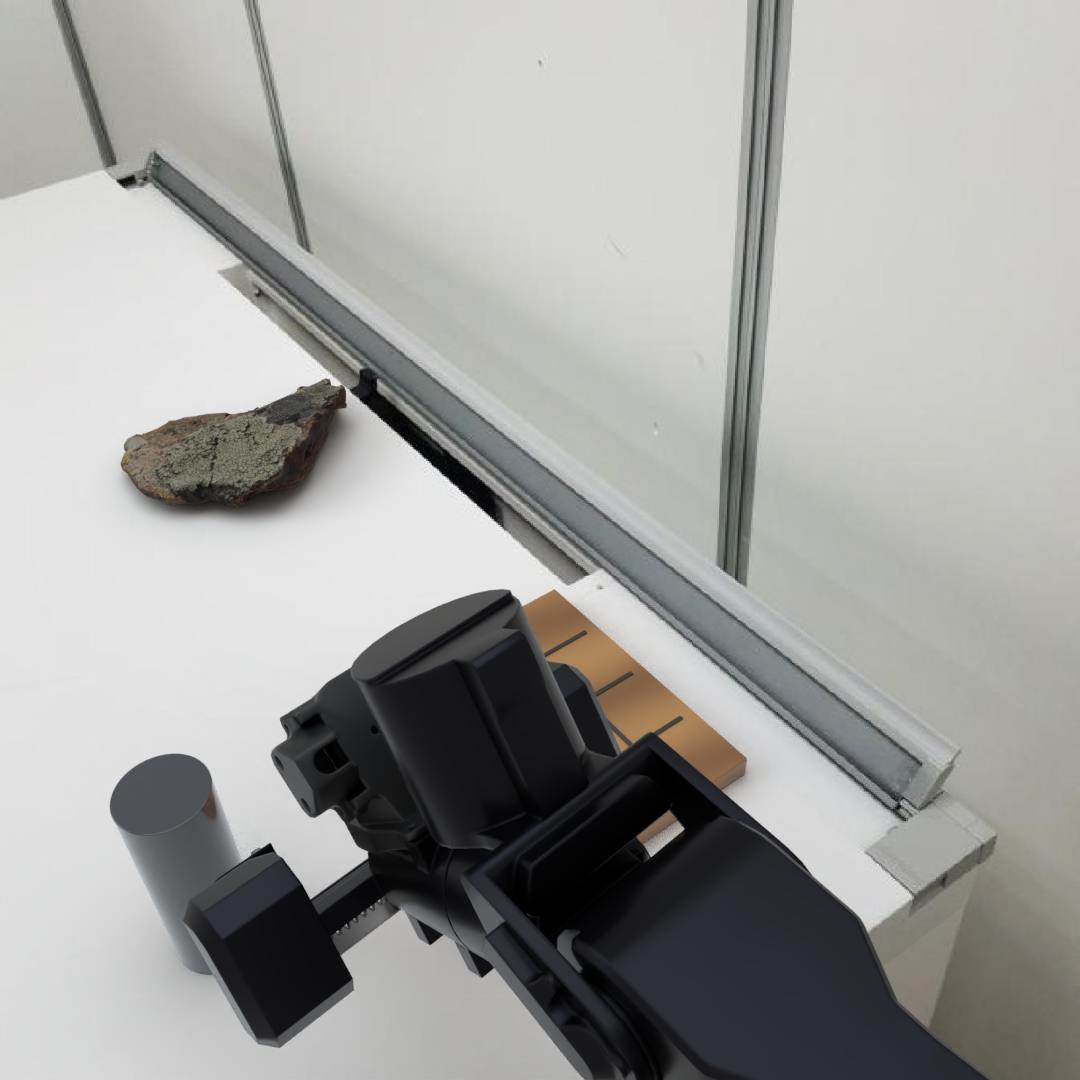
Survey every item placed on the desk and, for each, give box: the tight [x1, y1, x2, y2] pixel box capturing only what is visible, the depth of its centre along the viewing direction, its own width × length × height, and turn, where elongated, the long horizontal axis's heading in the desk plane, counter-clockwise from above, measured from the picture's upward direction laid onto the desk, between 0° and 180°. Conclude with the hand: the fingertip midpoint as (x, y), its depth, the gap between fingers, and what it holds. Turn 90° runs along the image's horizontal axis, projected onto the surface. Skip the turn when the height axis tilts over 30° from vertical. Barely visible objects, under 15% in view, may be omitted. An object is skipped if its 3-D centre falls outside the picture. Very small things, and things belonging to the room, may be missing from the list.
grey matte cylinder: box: [109, 753, 244, 975], centre depth 61 cm, size 5×5×13 cm
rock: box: [120, 377, 348, 509], centre depth 99 cm, size 20×17×5 cm
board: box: [522, 589, 748, 845], centre depth 74 cm, size 20×20×2 cm
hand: (344, 800), depth 54 cm, fingers open, 9 cm apart
